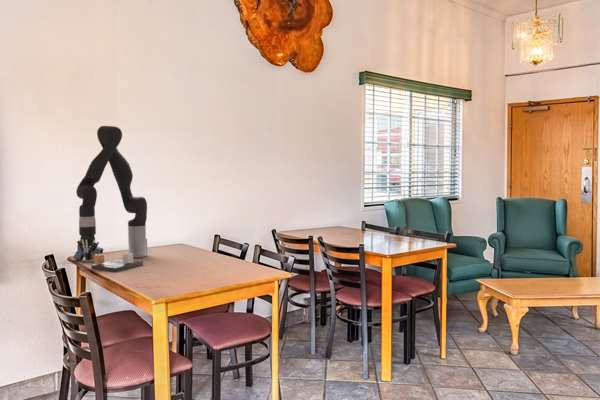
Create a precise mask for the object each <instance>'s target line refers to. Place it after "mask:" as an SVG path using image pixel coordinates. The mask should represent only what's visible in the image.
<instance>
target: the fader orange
mask: <svg viewBox="0 0 600 400" xmlns="http://www.w3.org/2000/svg"><path fill="white" fill-rule="evenodd" d="M104 262H105V254H104V253H102V254H96V255H94V260H93V264H102V263H104Z"/></svg>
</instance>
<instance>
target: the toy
mask: <svg viewBox="0 0 600 400" xmlns="http://www.w3.org/2000/svg"><path fill="white" fill-rule="evenodd" d="M76 246H77V247H76V249H77V250H76V251H75V253H74V254H73V257H72V258H73V259H74V260H76V261H83V260H84V259H85V253H84V251H82V250H81V249H80V247H79V245H78V244H77V245H76ZM83 249H84V248H83ZM96 254H104V248H102V247H100V246H97V248H96V249H95V251H93V252H92V253H91V257H92V258H91V260H90V261H94V255H96Z"/></svg>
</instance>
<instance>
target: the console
mask: <svg viewBox="0 0 600 400" xmlns="http://www.w3.org/2000/svg"><path fill="white" fill-rule="evenodd" d="M141 266H144V261H143V260H135V259H133V262H132V263H123V258H116V259H112V260H108V261H104V263H102V264H94V263H92V264H91V265H90V268H91V270H98V271H104V272H113V273H117V272H118V273H119V272H122V271H127V270H130V269H133V268H137V267H141Z"/></svg>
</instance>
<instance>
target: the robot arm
mask: <svg viewBox="0 0 600 400" xmlns="http://www.w3.org/2000/svg"><path fill="white" fill-rule="evenodd" d="M96 133H97V135H96V136H97V140H98V142H99V144H100V146H101V147H102V149H101V150H100V152H99V153H98V154H97V155H96V156H95V157H94V158H93V159H92V161H91V162H90V164H89V165H88V168H87V170H86V173H85V175H84V177H83V178H82V179H81V181H80V182H79V184H78V186H77V188H76V196H77V198H79V199H81V200H82V203H81V204H80V205H79V206H78V207H79V209H78V213H79V214H78V215H79V216H78V217H79V218H78V232H79V233H78V234H79V236H80V238H79V240H77V242H76V243H77V246H78V245H79V247H80V249H81V250H82V251H84V253H85V257H84V260H85V261H92V260H91V258H92V257H91V254H92V252H93V251H95V249H96V248H97V247H99V244H100V242H99V241H96V237H95V235H96V234H97V233H96V232H97V231H96V230H97V225H96V221H97V220H96V211H95V210H96V209H95V207H96V203H97V198H98V197H97V196H98V192H97V189H96V187H95V185H96V184H97V183H99V182H100V180H101V178H102V176H103V173H104V171H105V168H106V166H107V165H108V163H109V165H110V168H111V171H112V175H113V177H114V179H115V182H116V184H117V187H118V190H119V192H120V196H121V200H122V203H123V207H124V209H125V211H126V212H127V213H129V214H135V215H134V217H133V218H132V219H130V220H128V221H127V234H128V235H127V236H128V238H127V239H128V253H133V259H134V258H143V257H146V256H148V238H147V237H146V236H147V234H146V229H147V228H146V223H147V216H148V215H147V214H148V203H147V199H146V198H145V197H144V196H134V195H133V193H132V189H131V184H132V181H133V174H134V173H133V171H132V168H131V166H130V163H129V162H128V160H127V159H126V157H124V156H123V154H122V153H121V152H120V151H119V149H118V146H119V145H120V143H121V141H122V138H123V132H122V130H121V128H120V127H117V126H113V125H101V126H99V127H98V129H97V132H96ZM83 248H84V249H83Z"/></svg>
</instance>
